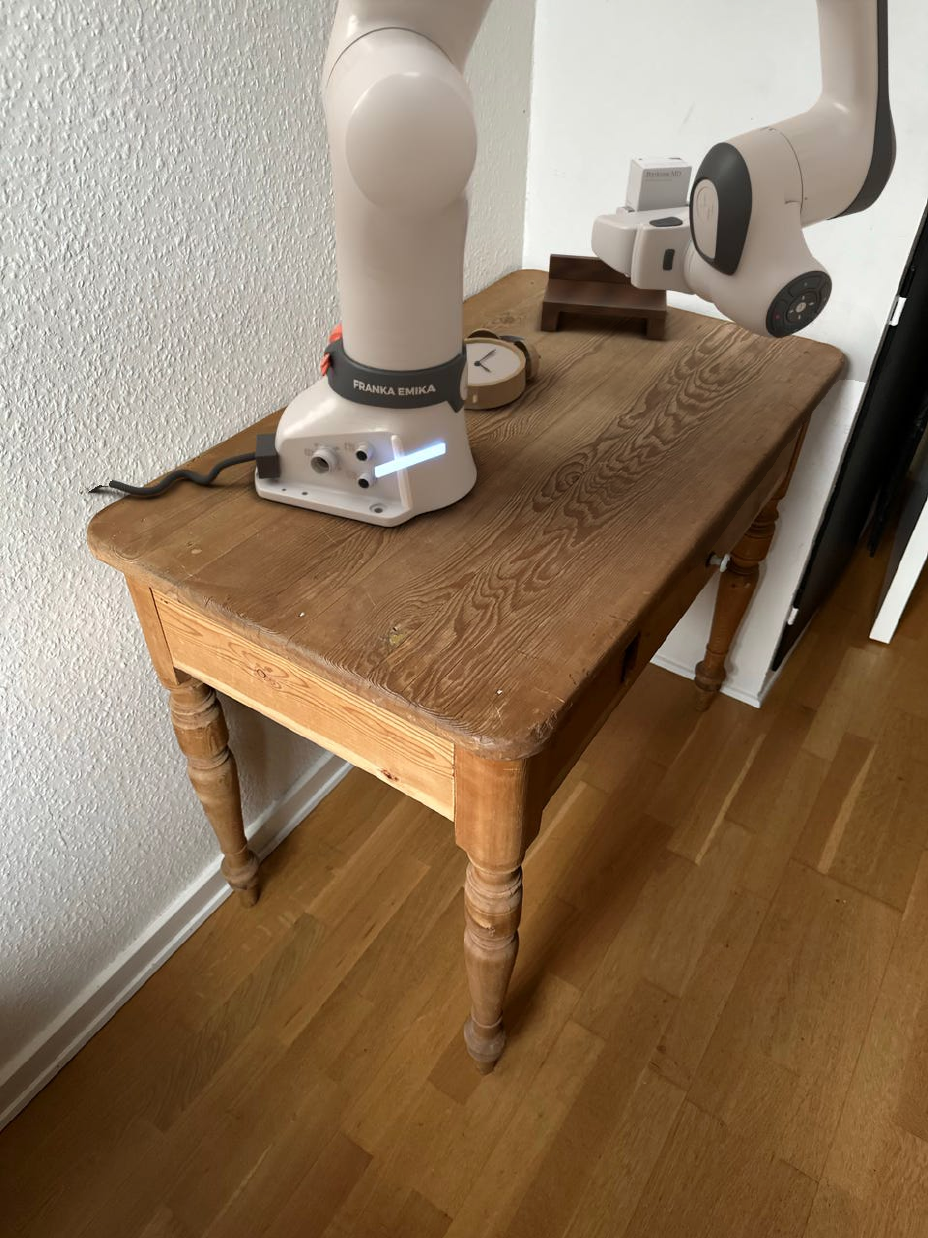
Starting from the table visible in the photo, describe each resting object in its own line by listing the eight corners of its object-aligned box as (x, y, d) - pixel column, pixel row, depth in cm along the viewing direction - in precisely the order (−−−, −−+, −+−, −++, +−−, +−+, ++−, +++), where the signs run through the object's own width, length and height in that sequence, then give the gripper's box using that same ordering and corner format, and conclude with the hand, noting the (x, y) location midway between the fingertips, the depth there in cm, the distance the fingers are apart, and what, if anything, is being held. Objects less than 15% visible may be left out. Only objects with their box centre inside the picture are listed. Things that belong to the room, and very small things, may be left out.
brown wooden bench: (540, 330, 120) (544, 277, 115) (546, 304, 127) (550, 253, 122) (662, 340, 118) (670, 287, 114) (661, 312, 125) (670, 261, 120)
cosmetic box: (627, 278, 107) (641, 168, 99) (615, 265, 110) (628, 157, 102) (676, 275, 108) (694, 165, 100) (662, 262, 111) (679, 154, 103)
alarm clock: (408, 369, 105) (482, 306, 112) (414, 404, 108) (485, 341, 116) (488, 397, 100) (560, 329, 107) (491, 433, 103) (560, 365, 111)
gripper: (802, 209, 96) (732, 174, 106) (631, 228, 91) (573, 189, 101) (787, 269, 100) (721, 229, 110) (623, 290, 95) (568, 246, 105)
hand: (649, 210), depth 105 cm, fingers closed on cosmetic box, 6 cm apart
